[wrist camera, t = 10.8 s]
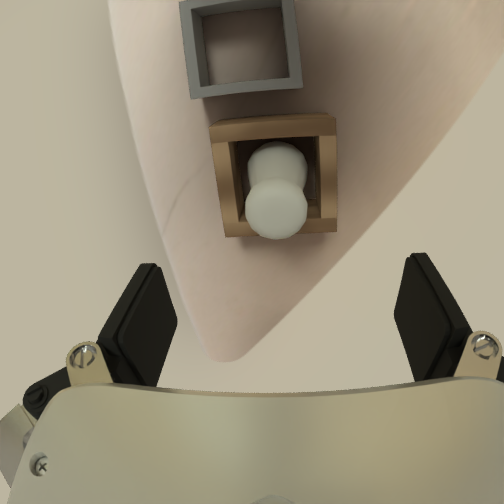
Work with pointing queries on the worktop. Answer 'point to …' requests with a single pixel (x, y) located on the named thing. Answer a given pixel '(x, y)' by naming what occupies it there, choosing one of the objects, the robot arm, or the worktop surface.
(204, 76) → the grey open tray
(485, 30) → the worktop surface
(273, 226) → the salt shaker
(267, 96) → the worktop surface
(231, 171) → the brown wooden open box
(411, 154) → the worktop surface
